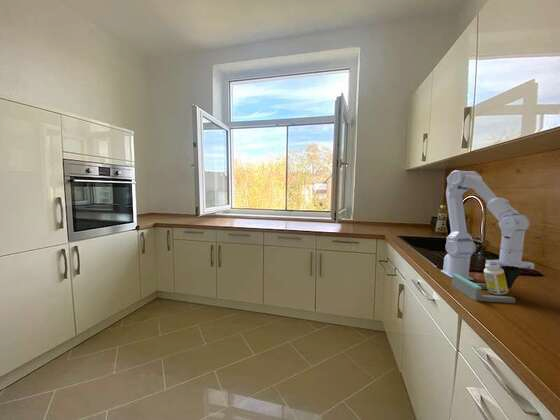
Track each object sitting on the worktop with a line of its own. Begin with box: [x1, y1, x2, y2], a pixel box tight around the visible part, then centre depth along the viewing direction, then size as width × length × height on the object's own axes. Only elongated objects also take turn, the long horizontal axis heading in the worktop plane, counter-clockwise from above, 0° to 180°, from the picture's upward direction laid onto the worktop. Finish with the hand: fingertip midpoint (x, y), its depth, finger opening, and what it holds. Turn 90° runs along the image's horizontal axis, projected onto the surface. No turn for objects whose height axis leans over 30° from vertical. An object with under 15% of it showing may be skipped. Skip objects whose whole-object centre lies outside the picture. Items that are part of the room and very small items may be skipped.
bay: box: [451, 274, 516, 304], centre depth 89 cm, size 13×12×5 cm
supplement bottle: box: [483, 263, 509, 296], centre depth 89 cm, size 6×6×10 cm
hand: (506, 287), depth 89 cm, fingers closed
